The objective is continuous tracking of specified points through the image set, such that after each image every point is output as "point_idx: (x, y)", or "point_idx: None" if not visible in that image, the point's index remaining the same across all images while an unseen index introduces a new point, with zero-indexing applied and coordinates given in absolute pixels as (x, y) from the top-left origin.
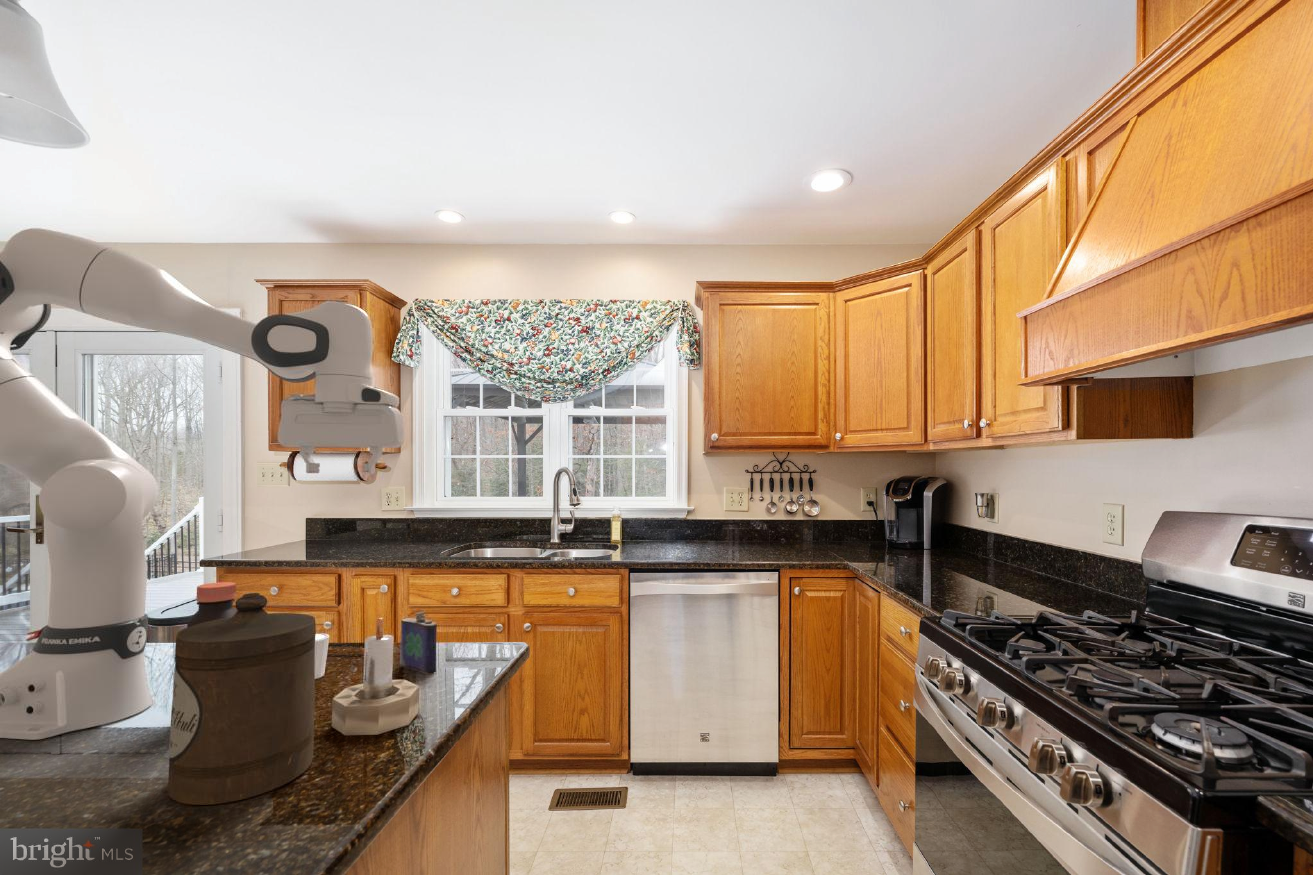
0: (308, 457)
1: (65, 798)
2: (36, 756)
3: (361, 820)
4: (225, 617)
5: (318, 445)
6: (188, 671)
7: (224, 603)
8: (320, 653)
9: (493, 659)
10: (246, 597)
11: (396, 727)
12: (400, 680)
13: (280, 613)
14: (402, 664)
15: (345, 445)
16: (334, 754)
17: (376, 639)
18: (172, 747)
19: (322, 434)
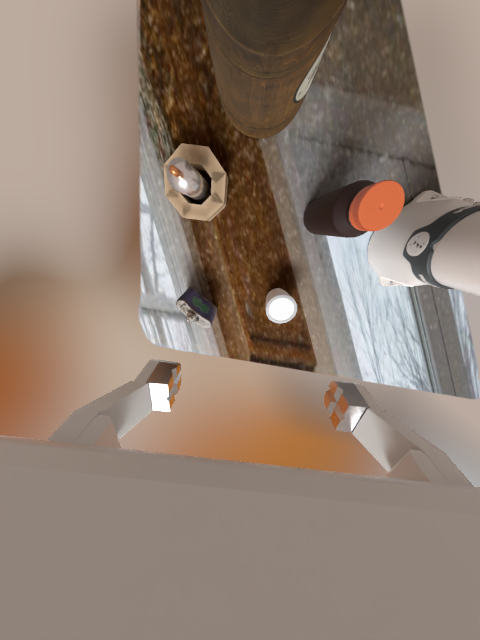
0: (388, 437)
1: (376, 51)
2: (418, 156)
3: None
4: (345, 192)
5: (384, 478)
6: None
7: (356, 194)
8: (268, 298)
9: (153, 311)
10: None
11: None
12: (185, 215)
13: (262, 47)
14: (214, 305)
15: (221, 462)
16: (208, 110)
17: (181, 169)
18: None
19: (421, 599)
